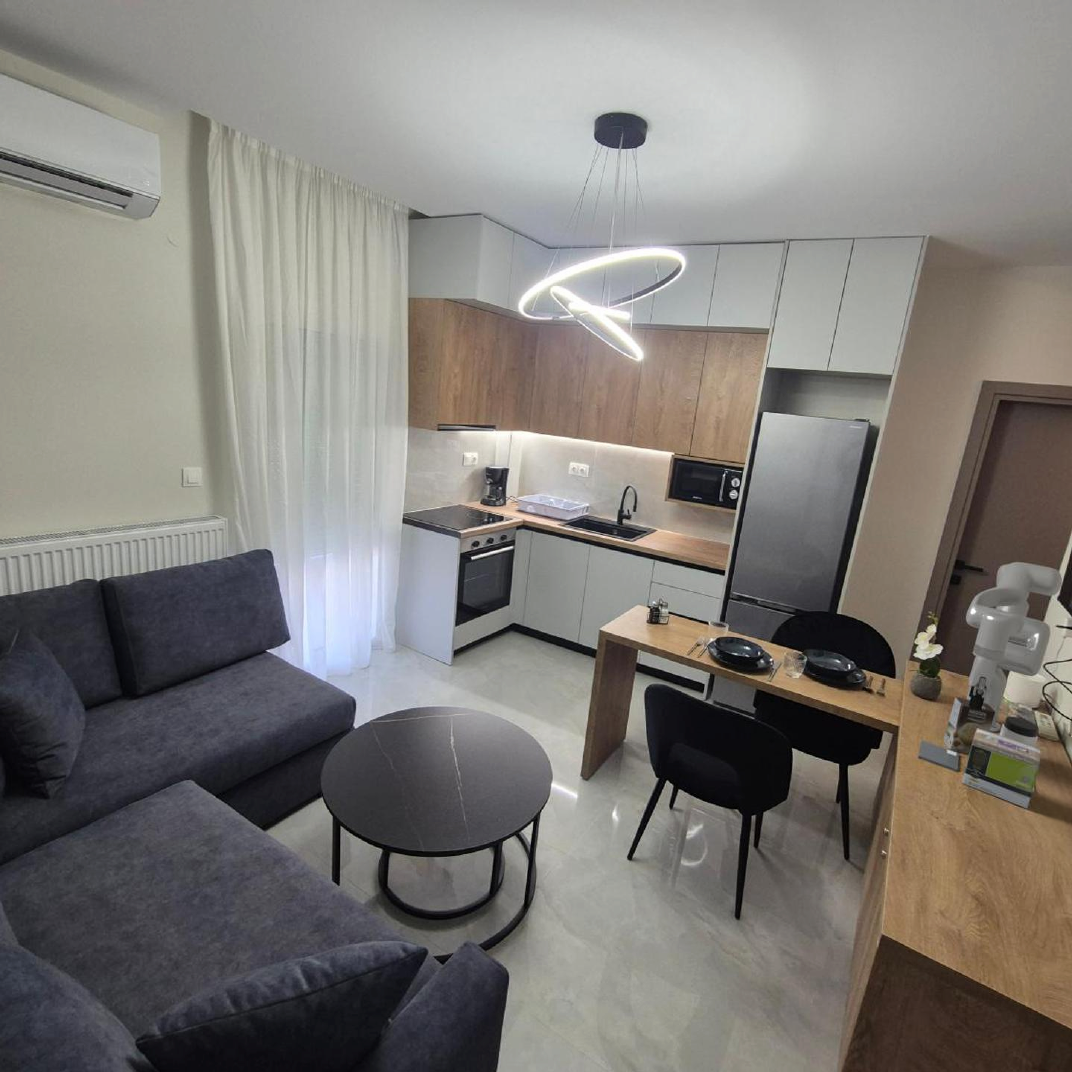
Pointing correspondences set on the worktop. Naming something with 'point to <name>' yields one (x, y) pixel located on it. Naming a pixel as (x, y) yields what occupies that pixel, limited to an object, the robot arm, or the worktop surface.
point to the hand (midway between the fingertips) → (974, 702)
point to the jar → (1020, 730)
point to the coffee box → (966, 724)
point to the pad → (939, 755)
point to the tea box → (1002, 767)
